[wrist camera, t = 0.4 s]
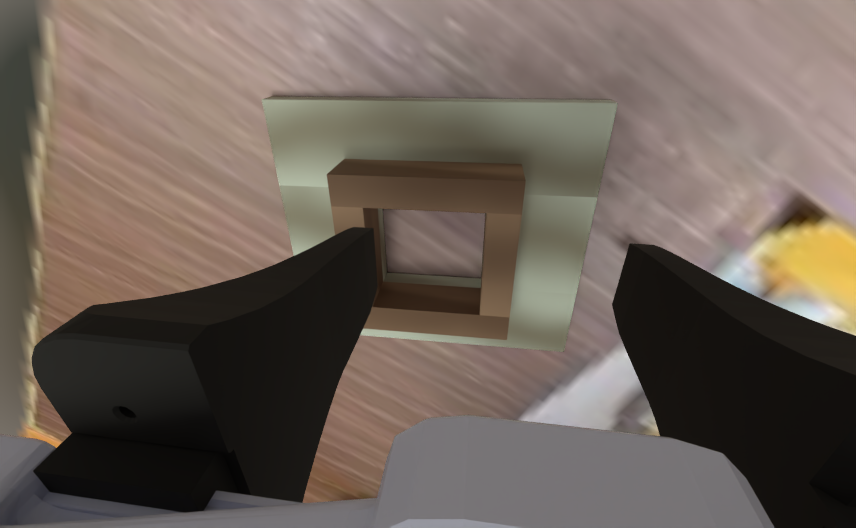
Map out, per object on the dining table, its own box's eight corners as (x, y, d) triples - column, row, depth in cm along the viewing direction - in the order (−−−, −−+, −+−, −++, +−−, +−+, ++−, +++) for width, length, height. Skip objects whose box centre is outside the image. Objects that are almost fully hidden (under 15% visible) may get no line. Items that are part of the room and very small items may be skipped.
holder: (561, 340, 25) (571, 383, 22) (314, 321, 27) (292, 358, 24) (611, 99, 18) (636, 114, 15) (271, 96, 20) (232, 108, 17)
